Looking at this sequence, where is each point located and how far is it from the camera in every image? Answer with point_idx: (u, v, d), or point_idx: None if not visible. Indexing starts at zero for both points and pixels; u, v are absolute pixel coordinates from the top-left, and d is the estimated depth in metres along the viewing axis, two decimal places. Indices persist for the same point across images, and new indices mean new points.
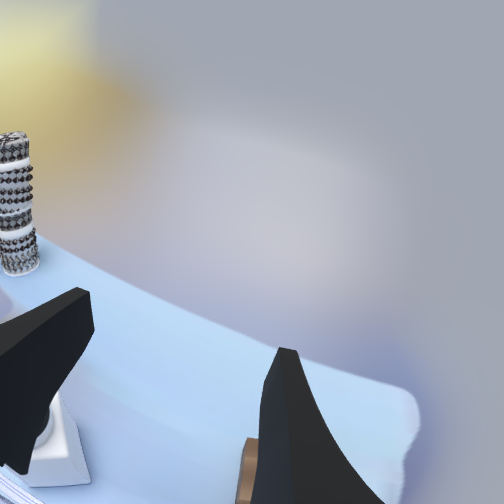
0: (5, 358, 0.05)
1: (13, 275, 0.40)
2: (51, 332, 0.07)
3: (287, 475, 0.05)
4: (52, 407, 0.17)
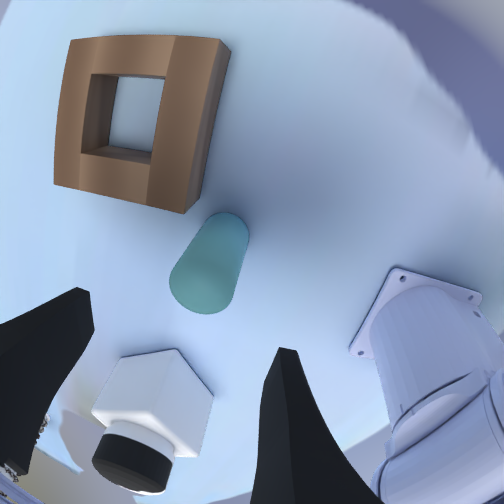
0: (5, 358, 0.05)
1: None
2: (51, 332, 0.07)
3: (286, 475, 0.05)
4: (110, 419, 0.19)
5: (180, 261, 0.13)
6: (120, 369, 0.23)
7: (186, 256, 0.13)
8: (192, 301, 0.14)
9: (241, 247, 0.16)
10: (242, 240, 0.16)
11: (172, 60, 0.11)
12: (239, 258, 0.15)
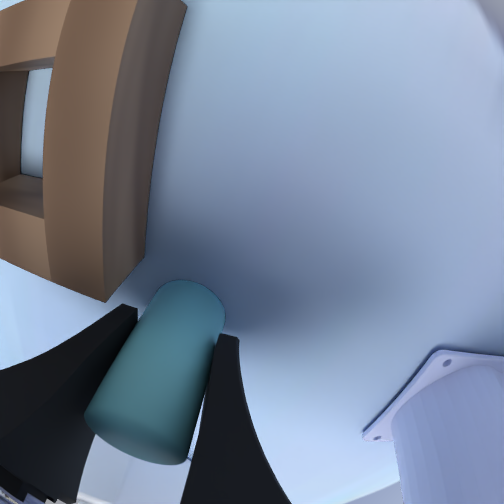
0: (61, 392, 0.05)
1: None
2: (103, 356, 0.07)
3: (192, 458, 0.05)
4: None
5: (92, 405, 0.06)
6: None
7: (101, 398, 0.06)
8: (127, 448, 0.07)
9: (206, 354, 0.09)
10: (209, 337, 0.09)
11: (66, 25, 0.04)
12: (200, 381, 0.08)
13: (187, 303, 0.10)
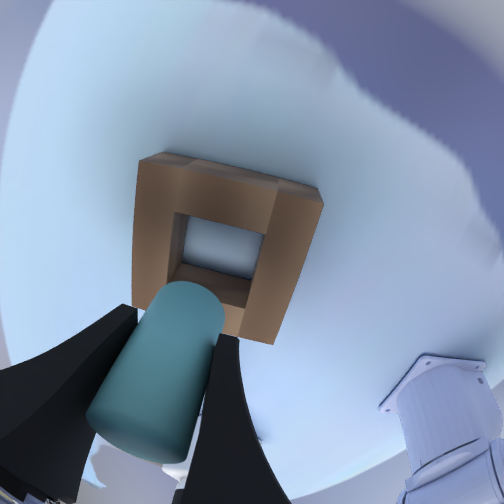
0: (61, 392, 0.05)
1: None
2: (103, 356, 0.07)
3: (192, 457, 0.05)
4: (182, 475, 0.21)
5: (92, 405, 0.06)
6: None
7: (101, 397, 0.06)
8: (130, 448, 0.07)
9: (205, 353, 0.09)
10: (207, 336, 0.09)
11: (273, 218, 0.14)
12: (199, 379, 0.08)
13: (185, 303, 0.10)
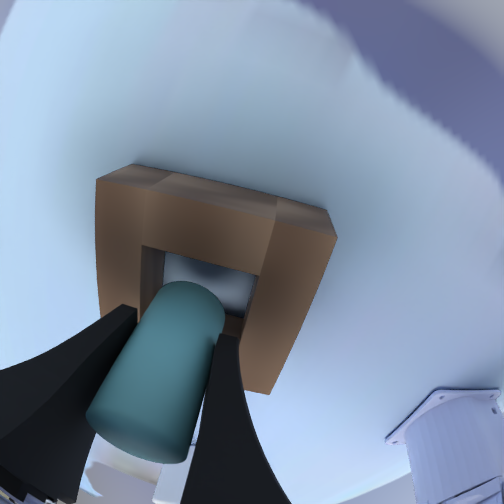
0: (61, 392, 0.05)
1: None
2: (103, 356, 0.07)
3: (192, 457, 0.05)
4: None
5: (92, 405, 0.06)
6: None
7: (101, 397, 0.06)
8: (130, 448, 0.07)
9: (205, 353, 0.09)
10: (207, 336, 0.09)
11: (269, 256, 0.10)
12: (199, 379, 0.08)
13: (185, 303, 0.10)
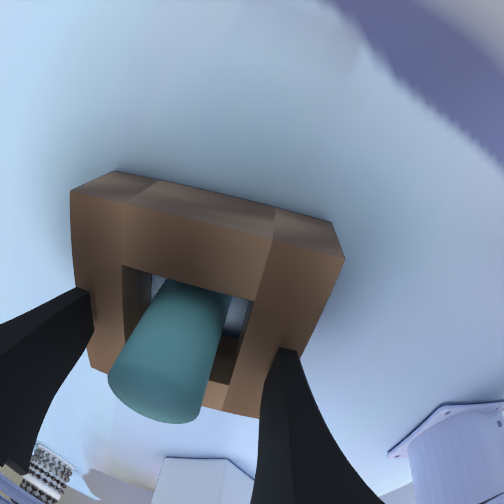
0: (5, 358, 0.05)
1: (69, 464, 0.35)
2: (51, 332, 0.07)
3: (287, 475, 0.05)
4: None
5: (116, 364, 0.07)
6: (169, 472, 0.21)
7: (124, 356, 0.08)
8: (146, 409, 0.08)
9: (215, 321, 0.10)
10: (217, 307, 0.11)
11: (265, 280, 0.09)
12: (210, 343, 0.09)
13: None
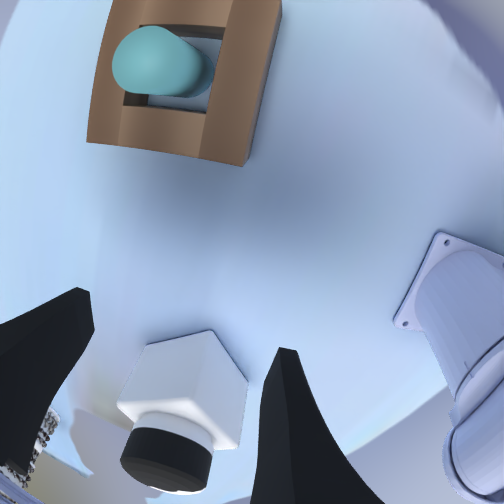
0: (5, 358, 0.05)
1: (54, 412, 0.36)
2: (51, 332, 0.07)
3: (287, 475, 0.05)
4: (140, 411, 0.18)
5: (125, 38, 0.09)
6: (147, 356, 0.22)
7: None
8: (134, 79, 0.10)
9: (198, 53, 0.12)
10: (200, 53, 0.12)
11: (232, 12, 0.10)
12: (193, 52, 0.11)
13: None
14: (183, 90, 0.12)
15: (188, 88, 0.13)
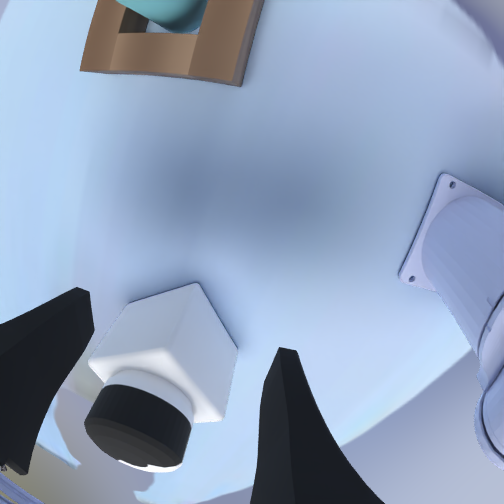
0: (5, 358, 0.05)
1: None
2: (51, 332, 0.07)
3: (286, 474, 0.05)
4: (112, 368, 0.16)
5: None
6: (127, 313, 0.20)
7: None
8: None
9: None
10: None
11: None
12: None
13: None
14: (177, 15, 0.11)
15: (182, 14, 0.11)
